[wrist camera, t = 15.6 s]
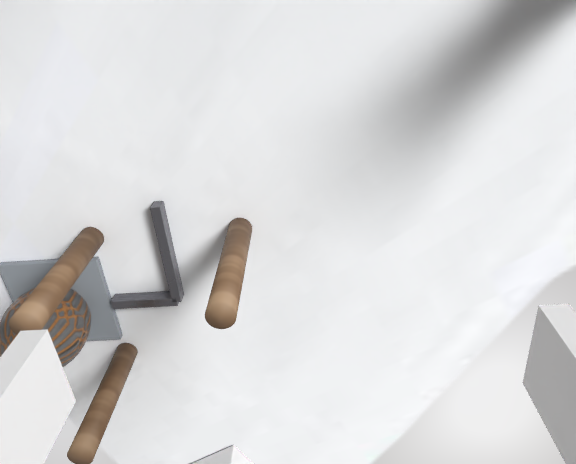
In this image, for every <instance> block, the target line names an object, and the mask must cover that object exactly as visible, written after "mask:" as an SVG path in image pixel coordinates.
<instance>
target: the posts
mask: <svg viewBox="0 0 576 464" xmlns="http://www.w3.org/2000/svg"><path fill="white" fill-rule="evenodd" d="M251 233H252V226H251V224H250V222H249V221H248V220H246V219H244V218H236V219H234V220H232V221H231V222H230V224H229V227H228V231H227V235H226V238H225V242H224V246H223V249H222V253H221V257H220V261H219V264H218V268H217V272H216V275H215V279H214V283H213V286H212V290H211V294H210V297H209V301H208V305H207V309H206V312H205V319H206V321H207V322H208V324H209V325H211V326H212V327H214V328H218V329H226V328H229V327H231V326H232V325H233V324H234V323H235V321H236V316H237V311H238V305H239V300H240V294H241V289H242V283H243V277H244V272H245V266H246V261H247V255H248V250H249V244H250V238H251ZM103 242H104V236H103V234H102V233H101V232H100V231H99V230H98V229H96V228H93V227H87V228H84V229H83V230H82V231H81V233H80V234H79V235H78V236H77V238H76V239H75V240H74V241H73V242H72V244H71V245H70V246H69V247H68V249H67V250H66V251H65V252H64V253H63V255H62V256H61V257H60V258H59V260H58V261H57V262H56V263H55V264H54V266H53V267H52V268H51V269H50V271H49V272H48V273H47V274H46V275H45V277H44V278H43V279H42V280H41V282H40V283H39V284H38V285H37V287H36V288H35V289H34V290H33V291H32V293H31V294H30V295H29V296H28V298H27V299H26V300H25V301H24V302H23V304H22V305H21V306H20V307H19V309H18V310H17V311H16V312H15V313H14V315H13V316H12V317H11V318H10V320H9V326H10V329H11V330H12V331H13V332H14V333H15V334H16V335H18V333H19V332H20V331H27V330H42V329H43V327H44V326H45V324H46V323H47V322H48V320H49V319H50V317H51V316H52V314H53V313H54V312H55V310H56V309H57V307H58V306H59V305H60V303H61V302H62V300H63V299H64V297H65V296H66V295H67V293H68V292H69V290H70V289H71V288H72V286H73V285H74V283H75V282H76V280H77V279H78V278H79V276H80V275H81V273H82V272H83V271H84V269H85V268H86V266H87V265H88V263H89V262H90V261H91V259H92V258H93V256H94V255H95V253H96V252H97V251H98V249H99V248H100V246H101V245H102V244H103ZM136 355H137V349H136V347H135V346H133V345H132V344H129V343H122V344H120V345H119V346H118V348H117V350H116V352H115V354H114V356H113V358H112V360H111V362H110V365H109V367H108V369H107V371H106V373H105V375H104V377H103V379H102V381H101V383H100V386H99V388H98V390H97V392H96V394H95V396H94V398H93V400H92V402H91V405H90V407H89V409H88V411H87V413H86V415H85V417H84V419H83V421H82V423H81V426H80V428H79V430H78V432H77V434H76V436H75V438H74V441H73V442H72V445H71V447H70V449H69V451H68V453H67V457H68V459H69V460H70V461H72V462H73V463H75V464H90V463H91V462H92V461H93V459H94V456H95V454H96V451H97V449H98V447H99V444H100V442H101V439H102V437H103V435H104V432H105V430H106V427H107V425H108V423H109V420H110V418H111V415H112V413H113V411H114V408H115V406H116V403H117V401H118V399H119V396H120V394H121V391H122V389H123V387H124V384H125V382H126V379H127V377H128V375H129V372H130V370H131V367H132V365H133V363H134V360H135V358H136Z"/></svg>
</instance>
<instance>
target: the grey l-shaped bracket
mask: <svg viewBox="0 0 576 464" xmlns="http://www.w3.org/2000/svg"><path fill="white" fill-rule="evenodd" d="M150 210H151V214H152V218H153V222H154V227H155V231H156V235H157V239H158V243H159V248H160V252H161V256H162V260H163V265H164V269H165V273H166V277H167V282H168V286H169V290H170V291H163V292H145V293H126V294H115V295H114V297H113V299H112V301H111V304H112V307H113V309H121V308H141V307H160V306H178V303H179V302H181V301H182V298H183V295H184V292H183V288H182V283H181V279H180V274H179V270H178V265H177V261H176V256H175V252H174V247H173V242H172V238H171V233H170V229H169V224H168V220H167V215H166V211H165V206H164V202H163V201H156V202H153V204H152V206H151V207H150Z"/></svg>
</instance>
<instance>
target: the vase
mask: <svg viewBox="0 0 576 464" xmlns="http://www.w3.org/2000/svg"><path fill="white" fill-rule="evenodd" d="M34 289H35V288H33V289H31V290H29V291H27V292H25V293H24V294H22V295H21V296H20V297H18V298H17V299H16V300H15V301H14V302H13V303H12V304H11V305H10V307H9V308H8V309H7V310H6V312H5V313H4V315H3V317H2V319H1V322H0V357H1V356H2V354H3V353H4V352H5V351H6V349H7V348H8V347H9V345H10V344H11V343H12V341H13V340H14V339H15V337H16V336H17V335H16V334H15V333H14V332H13V331H12V330H11V329H10V326H9V320H10V318H11V317H12V316H13V315H14V313H15V312H16V311H17V310H18V309H19V307H20V306H21V305H22V304H23V302H24V301H25V300H26V299H27V298H28V296H29V295H30V294H31V293H32V291H33V290H34ZM90 328H91V313H90V309H89V307H88V305H87V303H86V301H85V300H84V299H83V297H82V296H81V295H80V294H78V293H77V292H76V291H74V290H73V289H70V290H69V292H68V293H67V295H66V296H65V297H64V299H63V300H62V302H61V303H60V305H59V306H58V307H57V309H56V310H55V312H54V313H53V314H52V316H51V317H50V319H49V320H48V322H47V323H46V324H45V326H44V327H43V329H42V330H47V329H48V332H49V334H50V337H51V339H52V342H53V344H54V347H55V349H56V352H57V354H58V357H59V359H60V362H61V364H62V367H64V366H66V365H67V364H68V363H69V362H71V361H72V360H73V359H74V358H75V357H76V356H77V355H78V353H79V352H80V351H81V349H82V348H83V346H84V344H85V342H86V340H87V338H88V335H89V332H90Z"/></svg>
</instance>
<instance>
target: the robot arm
mask: <svg viewBox="0 0 576 464" xmlns="http://www.w3.org/2000/svg"><path fill="white" fill-rule="evenodd" d="M523 384H524V386H525V388H526V390H527V392H528V394H529V396H530V397H531V399H532V401H533V403H534V405H535V407H536V408H537V410H538V413H539V414H540V416H541V418H542V420H543V422H544V424H545V425H546V428H547V429H548V431H549V433H550V435H551V437H552V439H553V441H554V443H555V444H556V446H557V448H558V450H559V452H560V454H561V456H562V458H563V459H564V461H565V463H566V464H576V312H575V311H574V310H573V308H572V307H571V306H570V304H555V305H539V306H538V311H537V316H536V321H535V325H534V330H533V335H532V340H531V345H530V350H529V355H528V360H527V364H526V370H525V374H524V379H523ZM75 402H76V400H75V397H74V395H73V392H72V390H71V387H70V384H69V382H68V379H67V377H66V374H65V372H64V369H63V367H62V364H61V362H60V359H59V357H58V354H57V352H56V349H55V347H54V344H53V342H52V339H51V337H50V334H49V332H48V329H47V330H27V331H20V332H19V333H18V335H17V336H16V337H15V339H14V340H13V341H12V343H11V344H10V345H9V347H8V348H7V349H6V351H5V352H4V353H3V354H2V356H1V357H0V464H44V463H45V461H46V459H47V457H48V455H49V453H50V451H51V449H52V447H53V445H54V443H55V441H56V439H57V437H58V436H59V434H60V432H61V430H62V428H63V426H64V423H65V422H66V420H67V418H68V416H69V414H70V412H71V410H72V408H73V406H74V404H75Z"/></svg>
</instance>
